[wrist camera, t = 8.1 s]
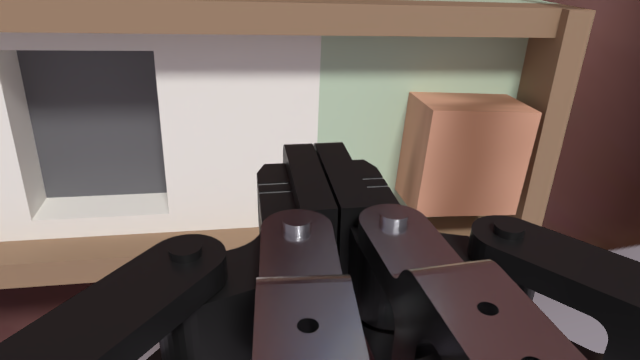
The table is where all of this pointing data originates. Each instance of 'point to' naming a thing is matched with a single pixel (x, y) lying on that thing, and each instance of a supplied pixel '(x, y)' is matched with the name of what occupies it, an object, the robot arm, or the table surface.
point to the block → (465, 153)
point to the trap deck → (238, 109)
